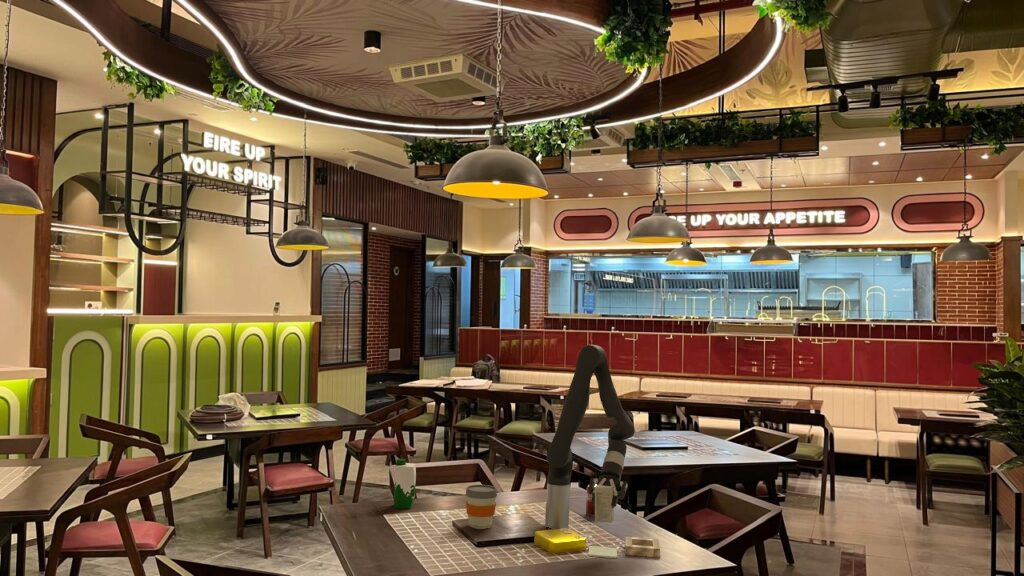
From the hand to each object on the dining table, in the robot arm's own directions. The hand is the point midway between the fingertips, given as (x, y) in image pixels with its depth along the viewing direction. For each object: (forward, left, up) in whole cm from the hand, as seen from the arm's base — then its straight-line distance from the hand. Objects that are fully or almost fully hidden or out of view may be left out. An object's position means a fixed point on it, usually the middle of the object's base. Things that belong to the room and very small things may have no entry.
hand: (603, 505), depth 254 cm
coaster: (0, +1, -17) cm, 17 cm away
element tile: (-15, +6, -18) cm, 24 cm away
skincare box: (0, +2, -6) cm, 6 cm away
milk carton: (-87, +43, -17) cm, 98 cm away
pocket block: (+14, +7, -17) cm, 24 cm away
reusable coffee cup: (-49, +22, -17) cm, 56 cm away
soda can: (-5, +54, -17) cm, 57 cm away
